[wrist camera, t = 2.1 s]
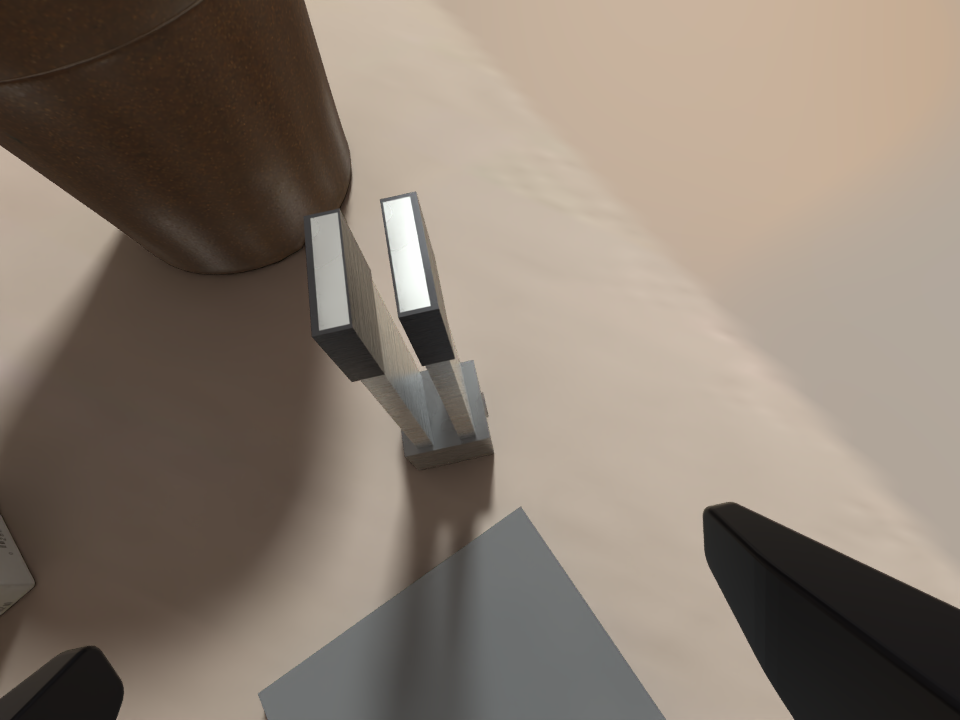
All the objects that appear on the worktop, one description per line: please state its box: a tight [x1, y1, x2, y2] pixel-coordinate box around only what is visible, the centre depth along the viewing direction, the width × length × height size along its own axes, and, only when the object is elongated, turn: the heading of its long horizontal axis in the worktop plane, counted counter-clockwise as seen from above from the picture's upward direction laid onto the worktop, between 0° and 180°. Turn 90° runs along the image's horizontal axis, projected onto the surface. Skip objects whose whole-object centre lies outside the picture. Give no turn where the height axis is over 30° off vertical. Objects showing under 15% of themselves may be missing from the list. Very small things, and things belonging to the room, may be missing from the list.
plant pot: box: [0, 0, 351, 274], centre depth 20 cm, size 16×16×16 cm
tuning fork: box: [303, 192, 494, 471], centre depth 16 cm, size 3×3×12 cm
